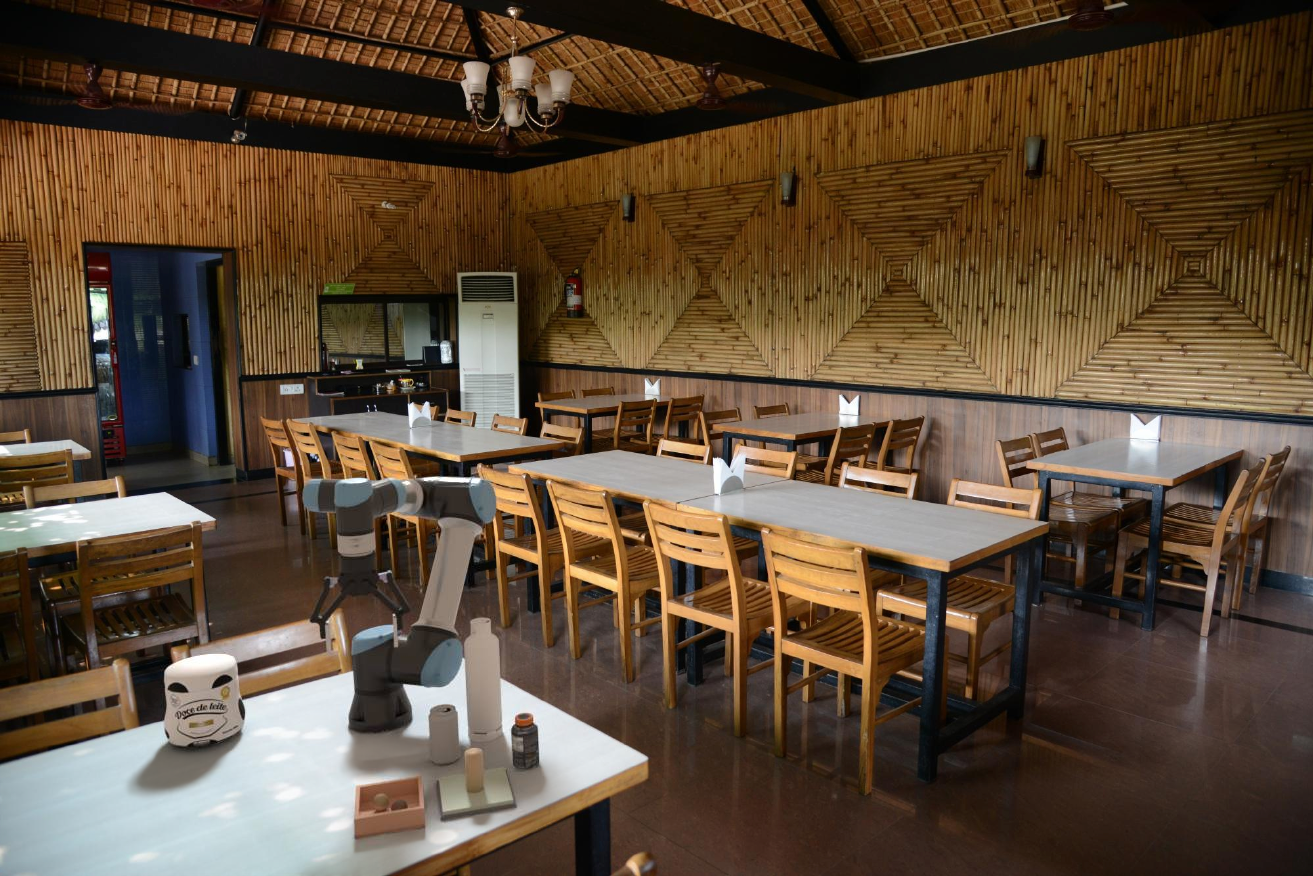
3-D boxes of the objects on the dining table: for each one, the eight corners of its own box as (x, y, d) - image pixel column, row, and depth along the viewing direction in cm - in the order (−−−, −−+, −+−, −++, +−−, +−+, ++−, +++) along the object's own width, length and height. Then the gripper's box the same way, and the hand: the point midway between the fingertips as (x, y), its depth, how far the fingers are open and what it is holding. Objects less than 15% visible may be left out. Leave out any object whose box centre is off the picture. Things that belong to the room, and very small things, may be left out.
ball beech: (373, 806, 179) (372, 792, 179) (389, 804, 180) (388, 789, 180) (373, 815, 176) (372, 800, 176) (389, 812, 177) (388, 797, 177)
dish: (357, 804, 181) (356, 786, 181) (422, 793, 185) (421, 775, 184) (355, 839, 169) (353, 819, 168) (425, 827, 173) (424, 807, 172)
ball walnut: (391, 812, 177) (390, 797, 176) (407, 810, 178) (407, 795, 177) (391, 821, 174) (390, 806, 173) (408, 818, 175) (407, 803, 174)
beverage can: (452, 767, 196) (450, 716, 194) (425, 765, 197) (423, 714, 195) (464, 754, 202) (462, 704, 200) (438, 751, 203) (435, 702, 202)
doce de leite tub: (192, 761, 201) (186, 685, 198) (150, 743, 210) (143, 670, 207) (261, 731, 215) (256, 660, 213) (219, 715, 224) (213, 647, 222)
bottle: (508, 735, 211) (503, 622, 207) (476, 744, 206) (471, 629, 203) (494, 723, 217) (489, 613, 214) (462, 732, 213) (457, 619, 209)
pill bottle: (538, 756, 200) (536, 708, 199) (540, 769, 194) (538, 720, 193) (511, 759, 199) (509, 711, 197) (513, 772, 193) (511, 723, 192)
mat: (436, 783, 189) (436, 780, 189) (506, 771, 193) (506, 769, 193) (440, 820, 175) (440, 817, 175) (516, 807, 179) (516, 804, 179)
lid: (438, 781, 189) (436, 742, 188) (504, 770, 193) (503, 732, 192) (442, 815, 175) (440, 773, 174) (513, 803, 179) (511, 762, 178)
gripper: (291, 562, 179) (299, 662, 182) (418, 551, 186) (423, 647, 189) (295, 553, 186) (302, 649, 189) (417, 542, 194) (422, 636, 196)
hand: (363, 649), depth 189 cm, fingers open, 13 cm apart
